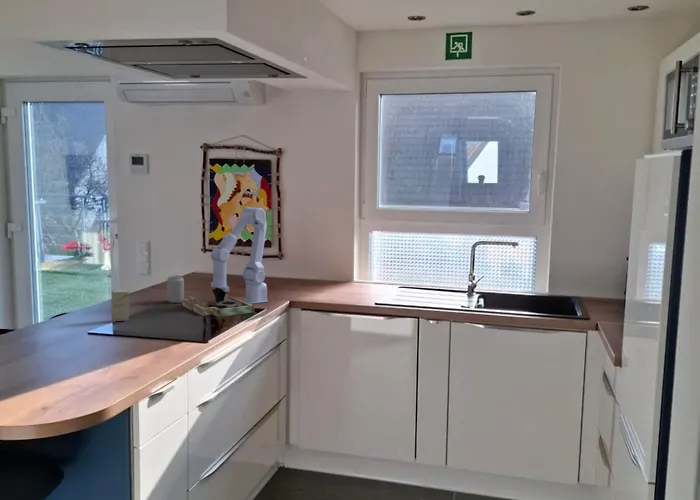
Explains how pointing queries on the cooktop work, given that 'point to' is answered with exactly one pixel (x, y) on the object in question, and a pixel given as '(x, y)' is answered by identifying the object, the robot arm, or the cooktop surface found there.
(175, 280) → the can
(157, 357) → the cooktop surface
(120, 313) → the skincare box
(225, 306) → the donut
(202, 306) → the beige square zigzag bar
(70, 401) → the cooktop surface
